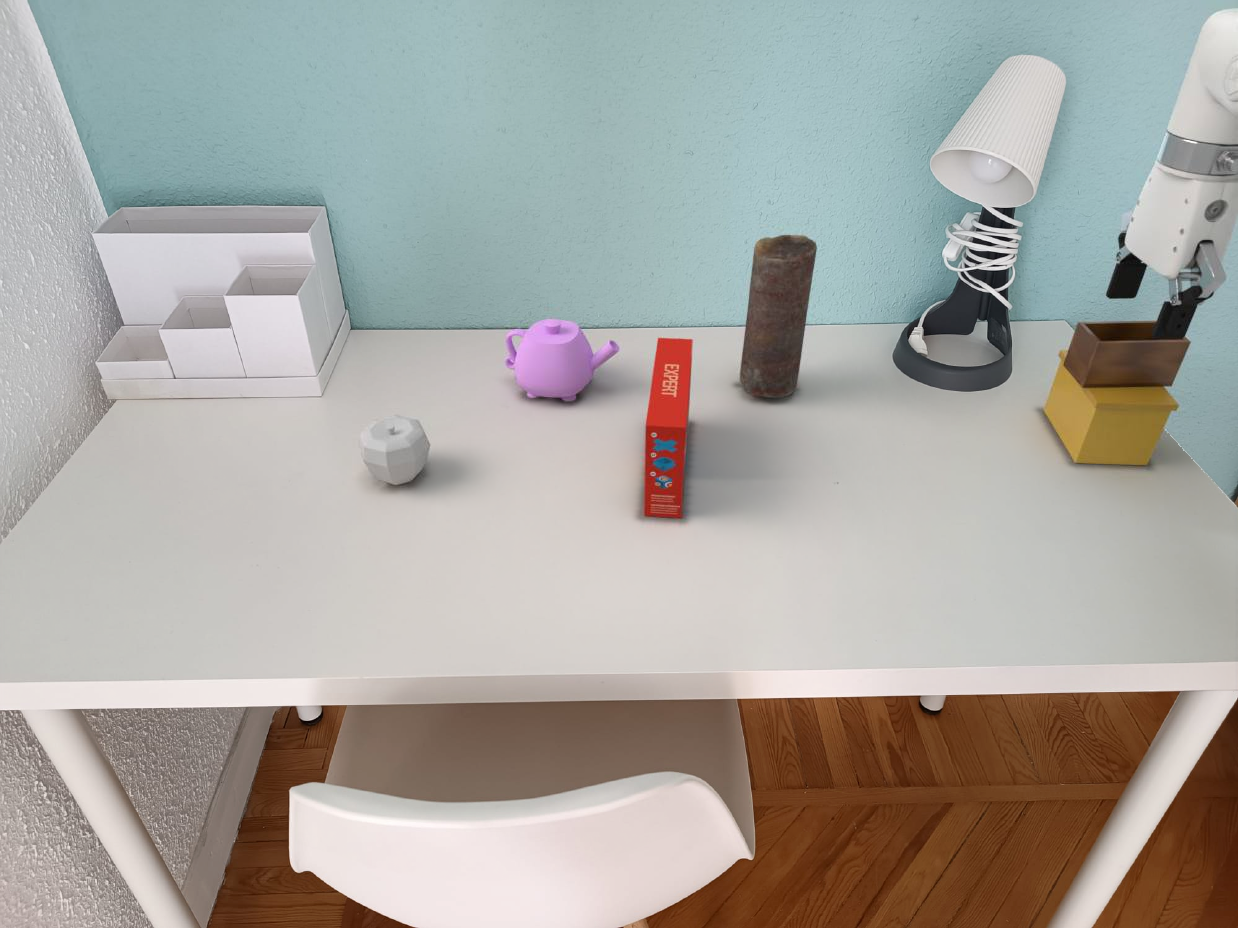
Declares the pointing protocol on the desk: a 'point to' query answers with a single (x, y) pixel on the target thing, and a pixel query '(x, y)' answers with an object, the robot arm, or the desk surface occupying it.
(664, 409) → the toy box
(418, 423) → the apple
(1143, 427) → the box
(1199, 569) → the desk surface
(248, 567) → the desk surface
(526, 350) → the teapot
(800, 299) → the candle
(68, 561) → the desk surface
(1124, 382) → the wooden cubby shelf
